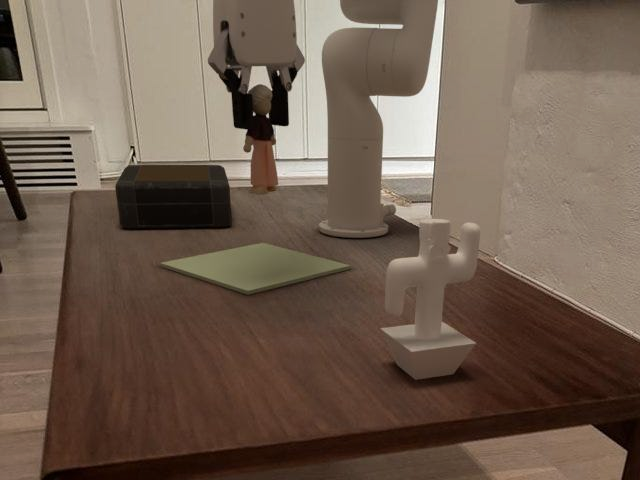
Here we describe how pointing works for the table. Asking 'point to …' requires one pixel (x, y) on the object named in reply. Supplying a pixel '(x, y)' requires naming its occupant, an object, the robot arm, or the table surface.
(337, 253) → the table surface
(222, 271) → the mat
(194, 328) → the table surface
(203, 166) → the cash box
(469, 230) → the figurine
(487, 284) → the table surface
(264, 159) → the grandmother figurine
